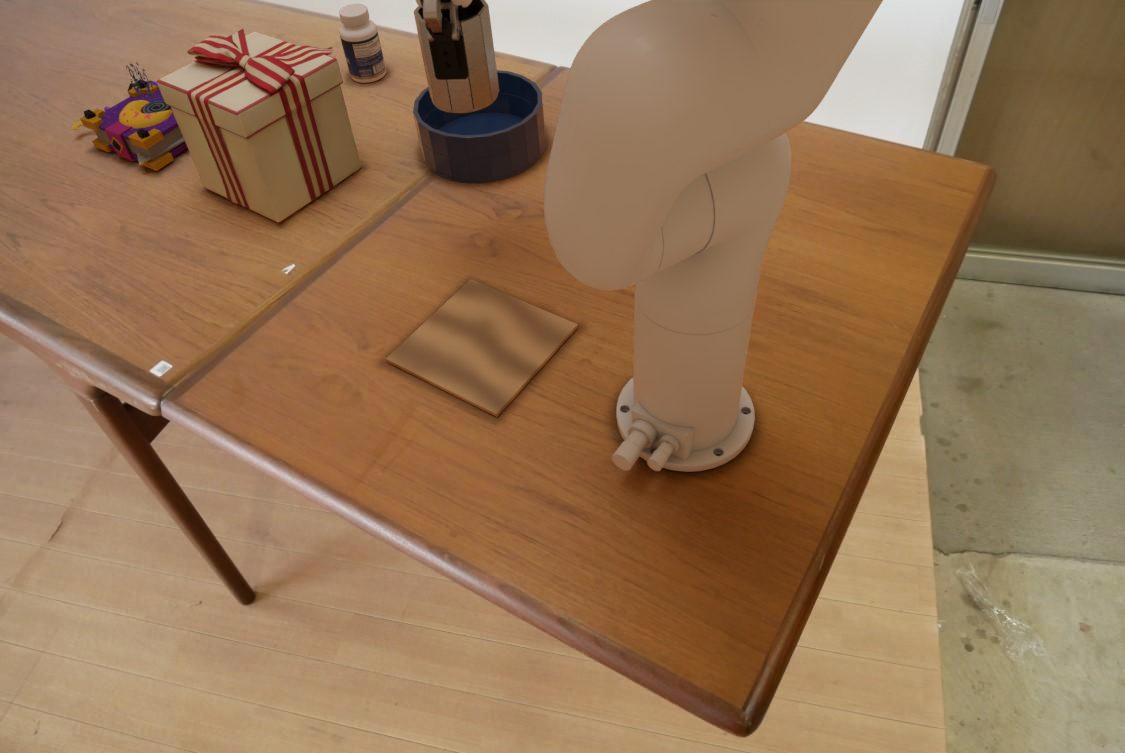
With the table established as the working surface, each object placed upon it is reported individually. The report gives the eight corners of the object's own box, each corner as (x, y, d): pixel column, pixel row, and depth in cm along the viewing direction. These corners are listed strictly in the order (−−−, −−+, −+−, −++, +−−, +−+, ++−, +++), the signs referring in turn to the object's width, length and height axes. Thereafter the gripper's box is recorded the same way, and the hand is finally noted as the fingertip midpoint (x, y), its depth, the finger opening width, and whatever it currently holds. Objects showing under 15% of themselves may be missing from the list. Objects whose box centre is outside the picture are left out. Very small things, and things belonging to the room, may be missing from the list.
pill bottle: (348, 70, 126) (331, 5, 119) (383, 62, 127) (369, -2, 120) (353, 87, 123) (336, 21, 116) (389, 79, 124) (375, 14, 116)
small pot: (471, 120, 83) (456, 30, 76) (417, 103, 86) (399, 15, 79) (512, 89, 86) (502, 1, 80) (459, 74, 89) (445, -13, 83)
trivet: (497, 417, 79) (496, 414, 79) (386, 362, 85) (385, 358, 84) (578, 327, 87) (577, 324, 86) (471, 282, 92) (470, 278, 92)
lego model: (148, 94, 125) (110, 12, 116) (269, 135, 115) (238, 50, 106) (64, 143, 117) (17, 59, 107) (187, 192, 107) (147, 104, 98)
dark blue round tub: (496, 197, 103) (490, 151, 98) (397, 160, 109) (386, 115, 104) (569, 133, 111) (567, 88, 106) (473, 103, 118) (466, 59, 113)
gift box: (384, 151, 111) (353, 23, 98) (287, 230, 100) (238, 98, 88) (289, 121, 117) (248, -3, 104) (189, 192, 107) (130, 64, 94)
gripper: (453, -113, 64) (484, 103, 77) (485, -178, 75) (507, 18, 88) (357, -108, 64) (404, 104, 77) (403, -174, 76) (437, 20, 89)
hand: (459, 57), depth 83 cm, fingers closed on small pot, 7 cm apart
